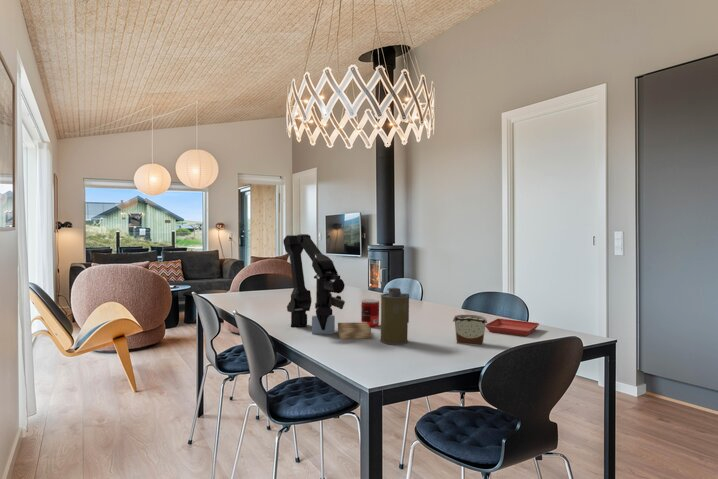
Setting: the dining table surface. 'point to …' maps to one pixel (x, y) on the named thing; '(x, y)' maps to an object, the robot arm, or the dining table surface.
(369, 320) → the canned food
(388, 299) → the canister
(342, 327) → the rack
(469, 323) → the food container
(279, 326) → the dining table surface
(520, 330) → the plant saucer
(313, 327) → the blue-grey flat block
